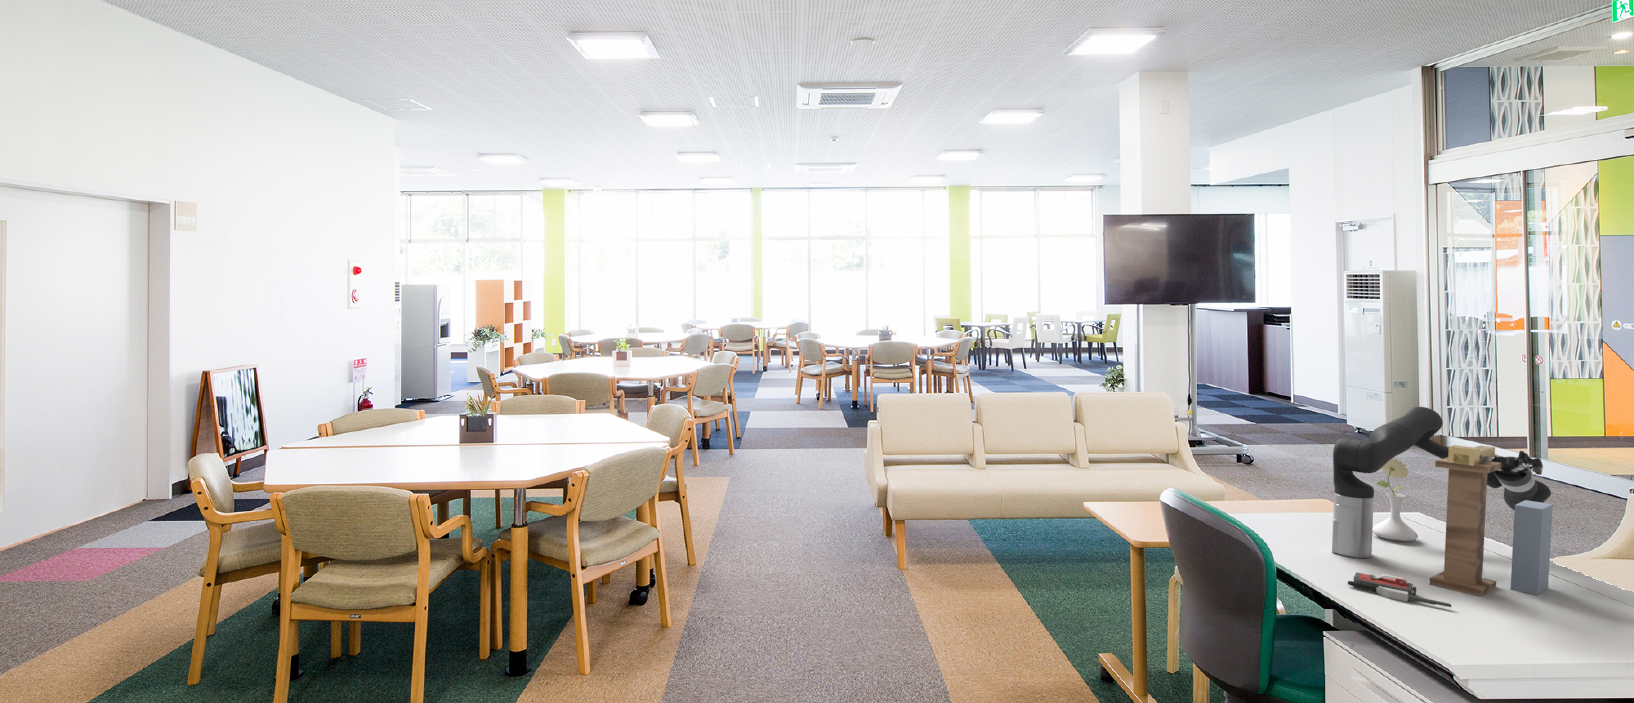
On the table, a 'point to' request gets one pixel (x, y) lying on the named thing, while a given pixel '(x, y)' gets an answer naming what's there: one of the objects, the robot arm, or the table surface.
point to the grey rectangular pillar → (1531, 547)
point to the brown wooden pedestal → (1465, 527)
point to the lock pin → (1469, 454)
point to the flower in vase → (1394, 507)
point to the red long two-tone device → (1390, 587)
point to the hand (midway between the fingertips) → (1499, 451)
